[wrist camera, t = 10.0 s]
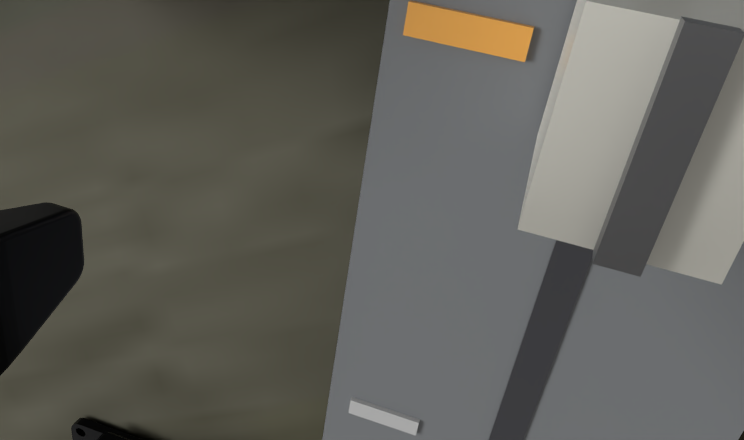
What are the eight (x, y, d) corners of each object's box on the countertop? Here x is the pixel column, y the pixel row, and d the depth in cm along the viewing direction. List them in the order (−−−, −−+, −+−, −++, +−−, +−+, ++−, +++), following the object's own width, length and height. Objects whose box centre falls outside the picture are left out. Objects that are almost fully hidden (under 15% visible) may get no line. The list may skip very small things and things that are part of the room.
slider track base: (636, 548, 24) (640, 604, 22) (333, 442, 26) (314, 485, 24) (1045, -164, 13) (1123, -172, 11) (448, -247, 15) (428, -265, 13)
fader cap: (684, 174, 15) (724, 300, 11) (536, 137, 16) (514, 242, 11) (761, -6, 13) (852, 55, 9) (588, -39, 14) (586, 1, 9)
